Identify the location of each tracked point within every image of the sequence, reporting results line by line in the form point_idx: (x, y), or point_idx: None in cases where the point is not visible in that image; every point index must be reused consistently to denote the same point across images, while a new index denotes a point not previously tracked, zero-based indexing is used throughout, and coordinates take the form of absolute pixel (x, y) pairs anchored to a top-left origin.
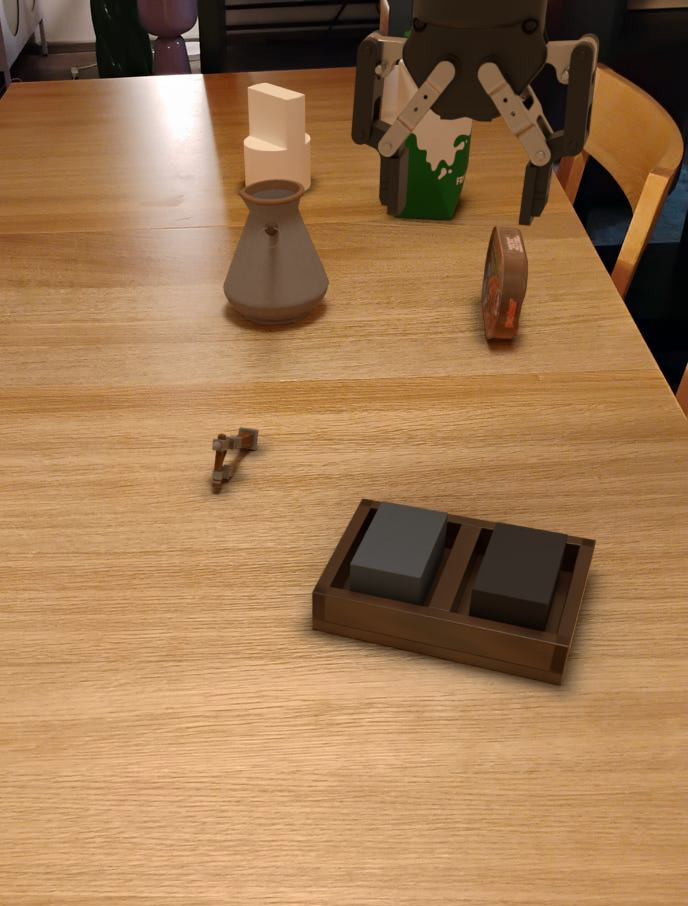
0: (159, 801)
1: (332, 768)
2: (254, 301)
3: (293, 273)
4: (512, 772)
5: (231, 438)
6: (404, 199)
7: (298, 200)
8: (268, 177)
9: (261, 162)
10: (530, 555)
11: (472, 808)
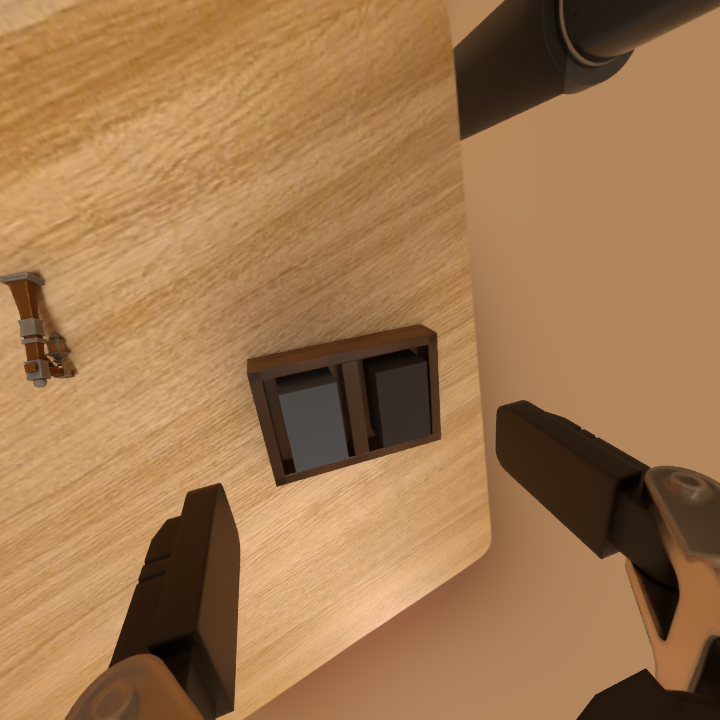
0: (274, 594)
1: (340, 532)
2: None
3: None
4: (418, 485)
5: (31, 341)
6: (221, 504)
7: None
8: None
9: None
10: (409, 398)
11: (408, 511)
